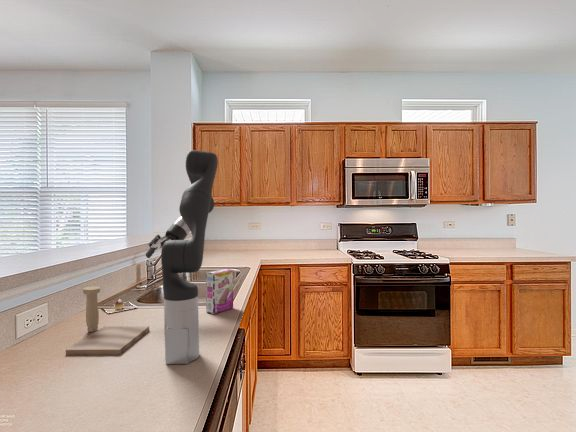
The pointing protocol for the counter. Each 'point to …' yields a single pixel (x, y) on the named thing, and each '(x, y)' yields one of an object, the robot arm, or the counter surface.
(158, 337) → the counter surface
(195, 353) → the robot arm
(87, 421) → the counter surface
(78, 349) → the walnut board
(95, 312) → the handle
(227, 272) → the candy bar box
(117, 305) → the dessert
